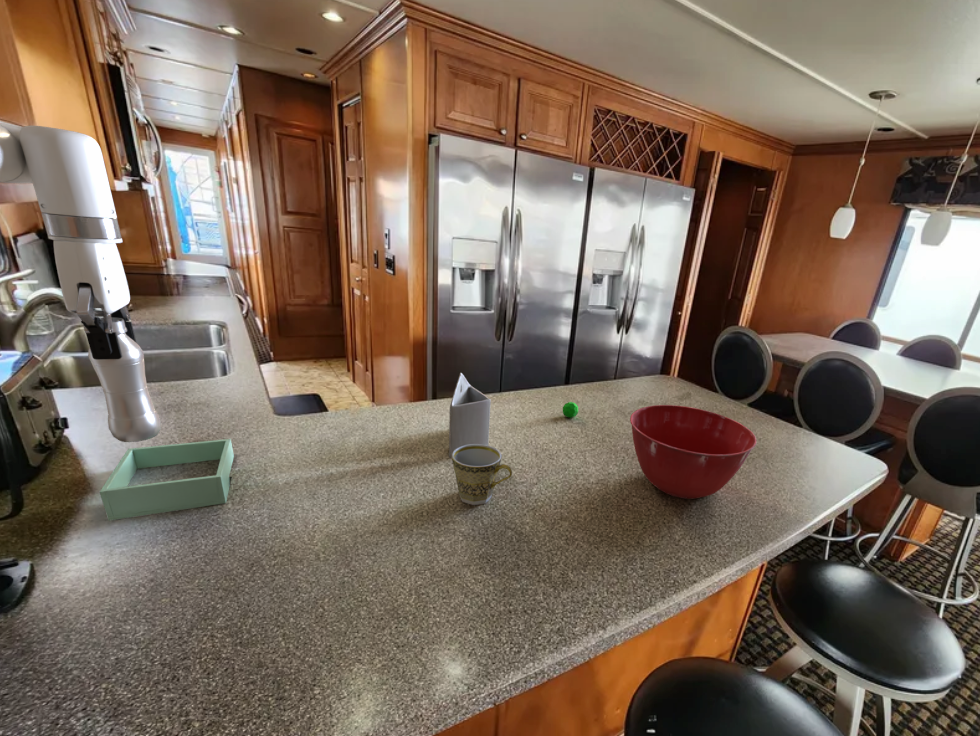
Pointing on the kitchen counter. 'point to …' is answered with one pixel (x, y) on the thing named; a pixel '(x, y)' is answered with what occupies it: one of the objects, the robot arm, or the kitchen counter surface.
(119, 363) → the plastic bottle
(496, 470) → the ceramic cup
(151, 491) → the mint green tray frame
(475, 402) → the planter
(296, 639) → the kitchen counter surface
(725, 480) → the mixing bowl
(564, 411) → the polyhedron
